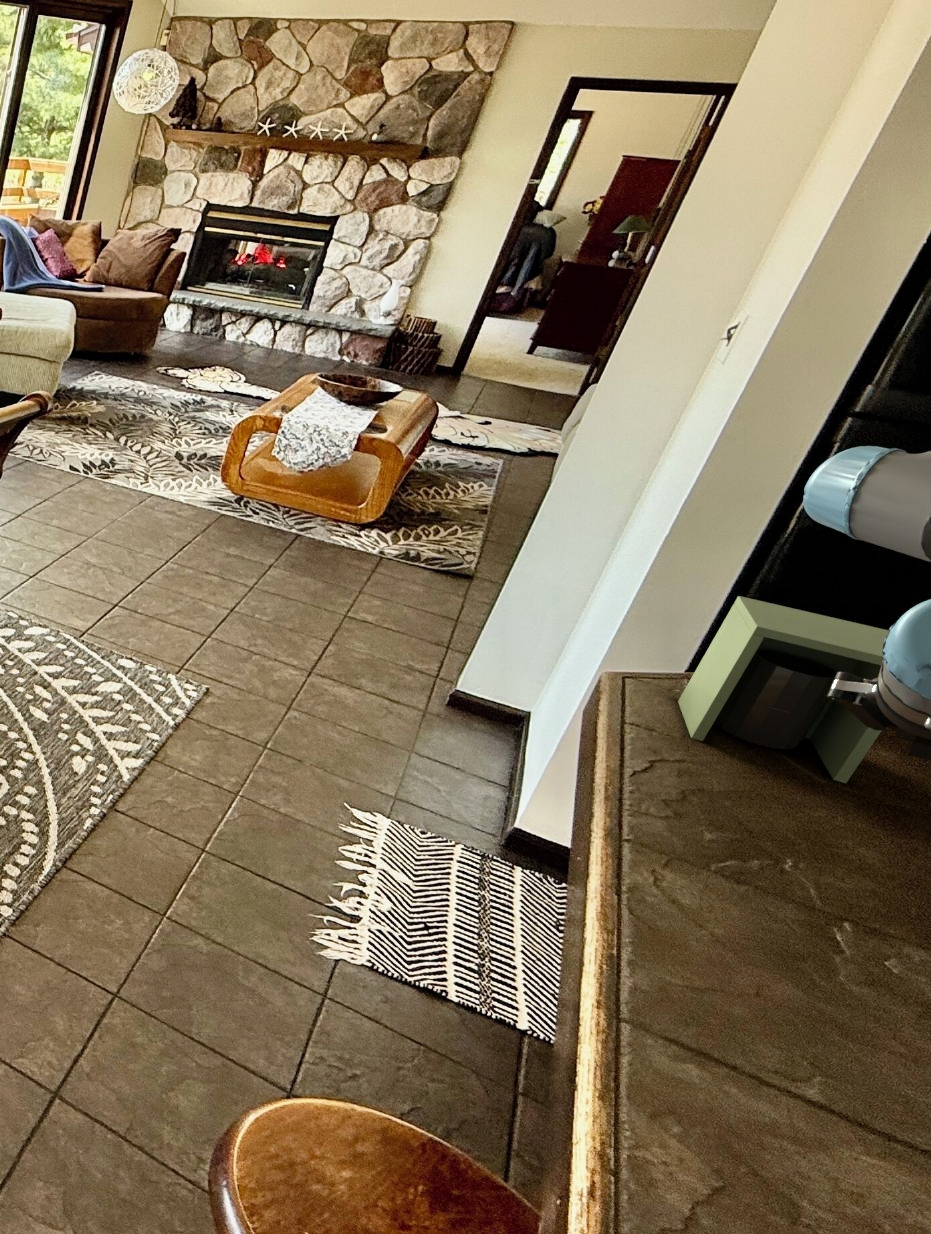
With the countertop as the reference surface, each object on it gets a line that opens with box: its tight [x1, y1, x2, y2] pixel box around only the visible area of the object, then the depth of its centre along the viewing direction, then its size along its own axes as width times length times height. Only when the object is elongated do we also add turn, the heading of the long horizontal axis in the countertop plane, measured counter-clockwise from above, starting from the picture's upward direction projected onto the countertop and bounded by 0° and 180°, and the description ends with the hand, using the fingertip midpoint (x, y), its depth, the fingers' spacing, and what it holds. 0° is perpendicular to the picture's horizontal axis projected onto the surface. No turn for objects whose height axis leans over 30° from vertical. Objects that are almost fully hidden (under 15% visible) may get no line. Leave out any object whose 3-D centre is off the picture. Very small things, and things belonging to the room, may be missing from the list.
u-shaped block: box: [677, 595, 889, 784], centre depth 114 cm, size 13×12×15 cm
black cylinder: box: [713, 648, 838, 751], centre depth 116 cm, size 7×7×10 cm
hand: (925, 745), depth 96 cm, fingers closed
